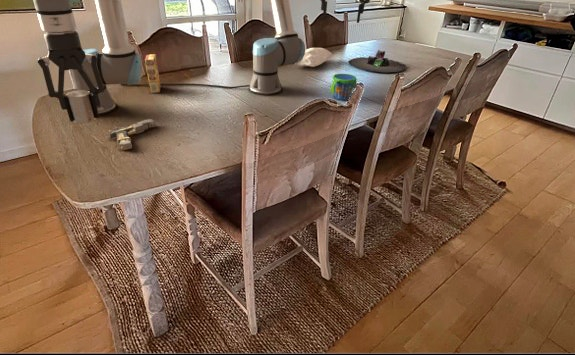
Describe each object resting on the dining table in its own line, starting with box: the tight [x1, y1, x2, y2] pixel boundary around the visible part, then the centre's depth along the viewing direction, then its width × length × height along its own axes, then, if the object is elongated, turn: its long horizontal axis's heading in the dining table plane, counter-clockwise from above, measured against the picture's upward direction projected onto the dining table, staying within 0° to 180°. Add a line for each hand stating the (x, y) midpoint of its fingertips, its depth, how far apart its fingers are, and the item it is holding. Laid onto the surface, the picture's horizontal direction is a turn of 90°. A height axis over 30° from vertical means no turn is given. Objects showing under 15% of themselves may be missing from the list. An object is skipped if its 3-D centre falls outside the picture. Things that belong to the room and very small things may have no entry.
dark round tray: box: [347, 49, 407, 74], centre depth 221 cm, size 35×35×9 cm
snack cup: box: [329, 73, 358, 101], centre depth 169 cm, size 16×10×10 cm
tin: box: [65, 90, 97, 124], centre depth 101 cm, size 6×6×8 cm
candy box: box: [144, 54, 162, 94], centre depth 168 cm, size 9×4×15 cm, turn 13°
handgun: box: [108, 118, 157, 151], centre depth 130 cm, size 3×18×15 cm
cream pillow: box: [294, 47, 333, 68], centre depth 217 cm, size 24×35×9 cm
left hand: (84, 117), depth 103 cm, fingers closed on tin, 6 cm apart
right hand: (340, 21), depth 145 cm, fingers open, 13 cm apart
